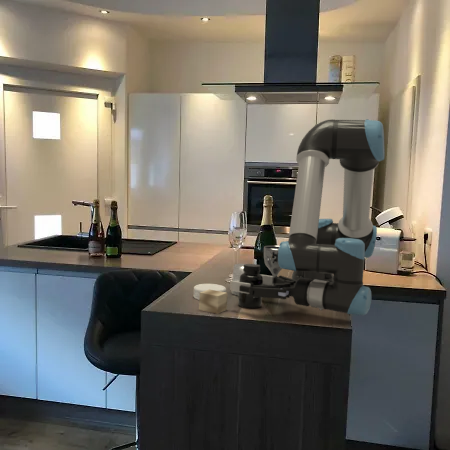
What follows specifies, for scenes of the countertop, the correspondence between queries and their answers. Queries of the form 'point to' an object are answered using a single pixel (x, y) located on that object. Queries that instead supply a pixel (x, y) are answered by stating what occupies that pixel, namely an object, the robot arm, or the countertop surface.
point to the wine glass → (272, 259)
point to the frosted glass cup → (237, 274)
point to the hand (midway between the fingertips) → (242, 281)
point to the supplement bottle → (250, 277)
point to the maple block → (213, 301)
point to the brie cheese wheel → (205, 287)
